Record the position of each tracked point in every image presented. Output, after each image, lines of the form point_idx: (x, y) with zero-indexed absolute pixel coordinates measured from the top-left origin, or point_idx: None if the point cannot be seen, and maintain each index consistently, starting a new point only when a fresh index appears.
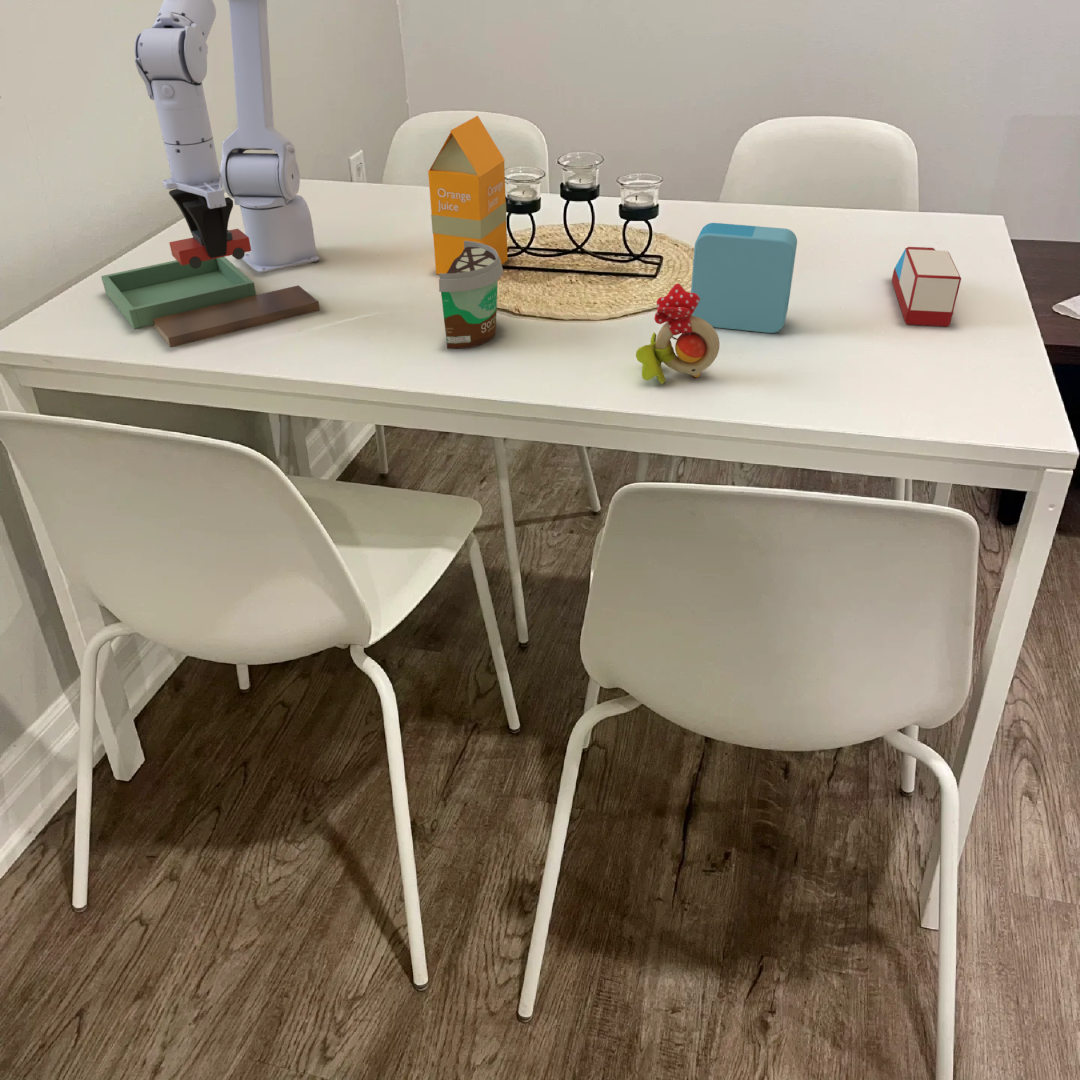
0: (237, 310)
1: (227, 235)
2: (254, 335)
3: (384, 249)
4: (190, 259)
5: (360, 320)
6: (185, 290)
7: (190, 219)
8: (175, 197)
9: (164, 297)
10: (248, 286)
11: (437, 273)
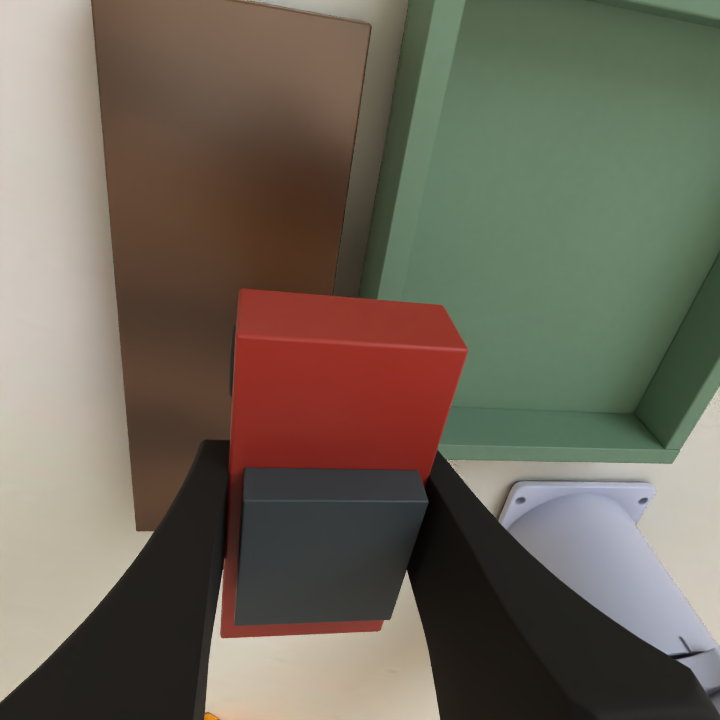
0: (222, 339)
1: (235, 601)
2: (67, 308)
3: (415, 685)
4: (232, 353)
5: (20, 554)
6: (593, 282)
7: (466, 567)
8: (560, 708)
9: (606, 200)
10: None
11: (205, 715)
